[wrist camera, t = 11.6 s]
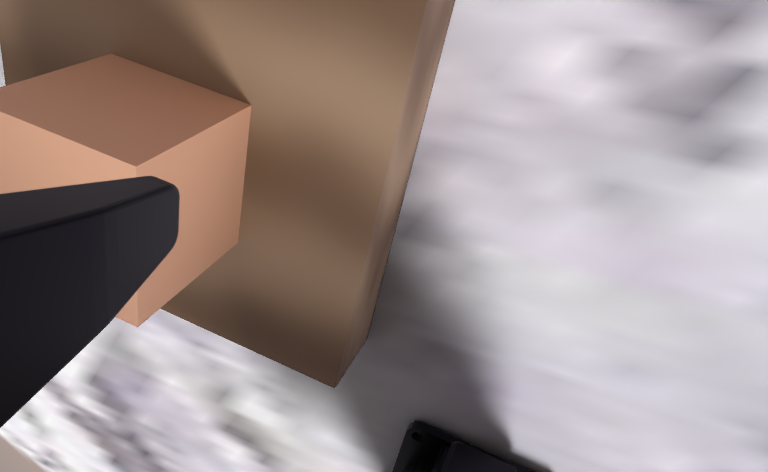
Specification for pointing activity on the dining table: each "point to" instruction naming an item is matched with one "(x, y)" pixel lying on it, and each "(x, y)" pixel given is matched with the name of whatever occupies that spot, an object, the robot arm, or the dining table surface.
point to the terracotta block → (133, 153)
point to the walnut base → (278, 145)
